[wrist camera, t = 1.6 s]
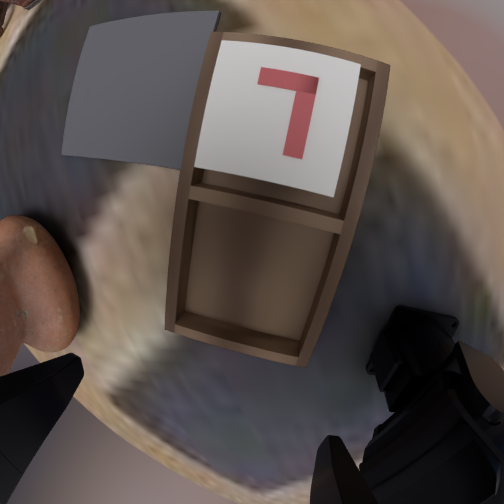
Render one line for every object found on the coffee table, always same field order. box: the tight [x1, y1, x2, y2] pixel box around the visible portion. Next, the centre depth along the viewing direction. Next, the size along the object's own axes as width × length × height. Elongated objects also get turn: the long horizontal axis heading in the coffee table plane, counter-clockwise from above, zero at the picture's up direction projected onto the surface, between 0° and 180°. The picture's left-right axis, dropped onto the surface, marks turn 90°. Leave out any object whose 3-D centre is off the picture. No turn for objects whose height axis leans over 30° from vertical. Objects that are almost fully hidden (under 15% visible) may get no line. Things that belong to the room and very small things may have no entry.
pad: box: [62, 11, 221, 170], centre depth 17 cm, size 12×12×1 cm
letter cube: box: [194, 40, 361, 197], centre depth 13 cm, size 6×6×6 cm
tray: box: [165, 32, 390, 368], centre depth 17 cm, size 11×20×2 cm, turn 169°
